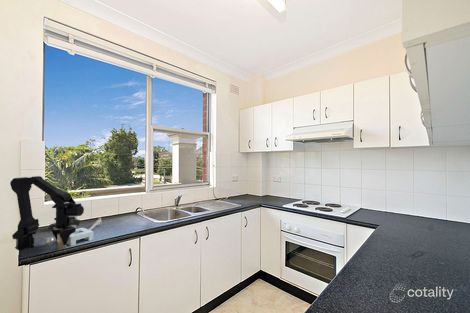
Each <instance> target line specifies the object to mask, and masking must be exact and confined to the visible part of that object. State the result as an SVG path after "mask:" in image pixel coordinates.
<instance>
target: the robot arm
mask: <svg viewBox="0 0 470 313" xmlns="http://www.w3.org/2000/svg"><path fill="white" fill-rule="evenodd" d="M32 185H33V186H35V187H37V188H38V189H40V190H41V192H44V193H45V194H47V195H48V196H49V197H50V199H51V201H52V202H53V203H54V205H52V206H51V209H55V217H54V218H53V219H54V221H55V222H53V223H50V224H49V226H48V228H49V230H50V232H51V234H52V235H53V237H54V240H56V241H57V234H59V233H60V234H59V235H60V238H61V240H62V242H63V245H66V246H67V245H68V244H67V241H68V239H69V236H70V235H71V234H72V233H74V232H76V229H77V227H76V228H74V227H72V226H71V225H76V226H78V227H79V226H80V223H81V220H80V219H78V218H77V219H75V217H69V216H77V217H80V216H82V215H83V214H84V210H85V208H84V206H83V205H82V203H77V202H76V201H75V200H74V198H73V196H72V194H70V192H67V191H66V190H61V189H58V188H57V187H55V185H53V184H51V183H50V182H49V181H47V180H45V179H44V178H43V177H42V176H40V175H37V176H36V175H35V176H29V177H27V176H24V177H15V178H12V180H10V187H11V190H12V191H13V192H14V193H15V194H16V198H17V199H16V200H17V204H18V210H19V217H20V220H19V222H18V223H17V230H16V231H15V232H14V233H13V234H12V235H11V236H12V240H15V247H14V249H15V250H17V251H23V250H26V249H30V248H33V247H35V246H34V245H35V237H34V235H35V234H37V231H38V230H39V227H40V226H41V225H40V222H39V218H35V217H34V216H33V210H32V203H31V198H30V191H31V189H32V187H33V186H32ZM67 226H70V227H67Z"/></svg>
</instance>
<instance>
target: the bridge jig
mask: <svg viewBox="0 0 470 313" xmlns="http://www.w3.org/2000/svg"><path fill="white" fill-rule="evenodd" d="M88 229H89V228H85V227H79V228H78V227H77V228H76V232H74V233H72V234H71V235H70V236H69V239H68V241H67V244H66V245H68V246H70V247H72V246H76V245H77V241H78V240H82V239H84V240H86V241H88V240H89V241H90V242H91V241H92V240H94V235H95V234H94V232H95V231H93V230H88ZM89 241H88V242H89Z"/></svg>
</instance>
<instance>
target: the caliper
mask: <svg viewBox="0 0 470 313" xmlns="http://www.w3.org/2000/svg"><path fill="white" fill-rule="evenodd" d="M101 225H102V218H101V217H98V219H97V220H96V221H95V222H94V224H93V225H92V226H90V227H89V228H87V229H88V230H91V231H93V229H95V227H98V226H101Z"/></svg>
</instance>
